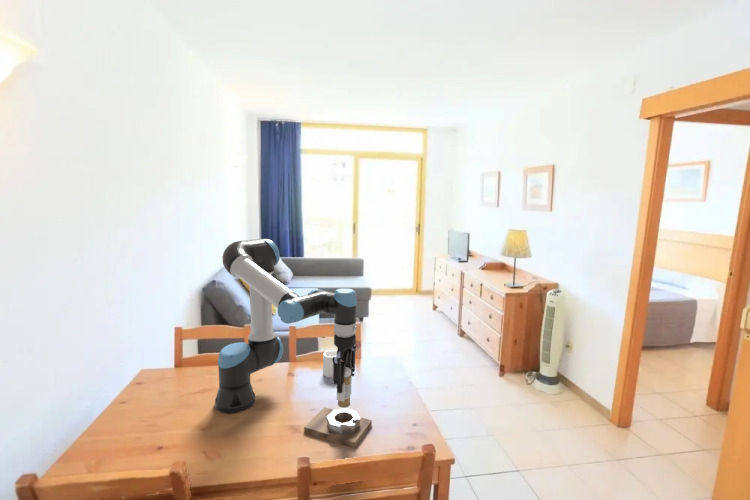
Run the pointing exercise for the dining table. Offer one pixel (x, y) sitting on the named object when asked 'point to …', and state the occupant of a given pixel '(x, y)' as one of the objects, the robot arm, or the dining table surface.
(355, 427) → the ring
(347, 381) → the sprinkles bottle
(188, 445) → the dining table surface
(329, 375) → the mug
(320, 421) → the block
